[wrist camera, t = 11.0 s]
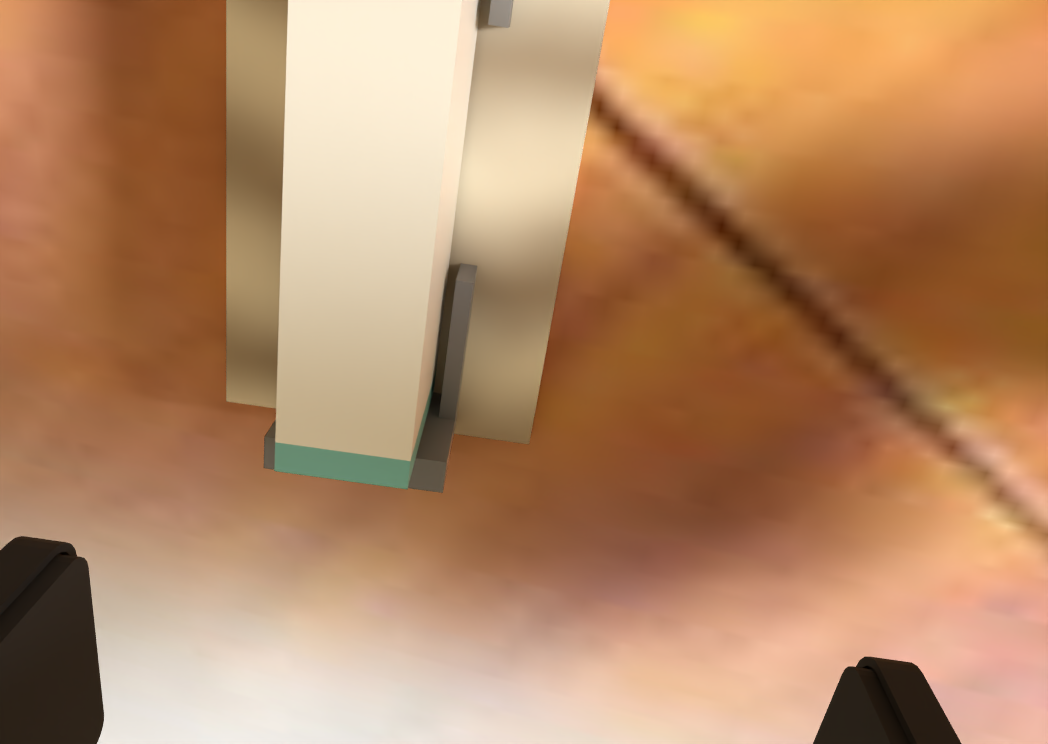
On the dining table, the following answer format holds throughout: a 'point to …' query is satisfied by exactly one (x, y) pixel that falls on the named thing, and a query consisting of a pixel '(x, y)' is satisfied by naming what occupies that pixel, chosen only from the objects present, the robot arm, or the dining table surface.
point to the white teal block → (367, 228)
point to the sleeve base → (481, 210)
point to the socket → (433, 397)
